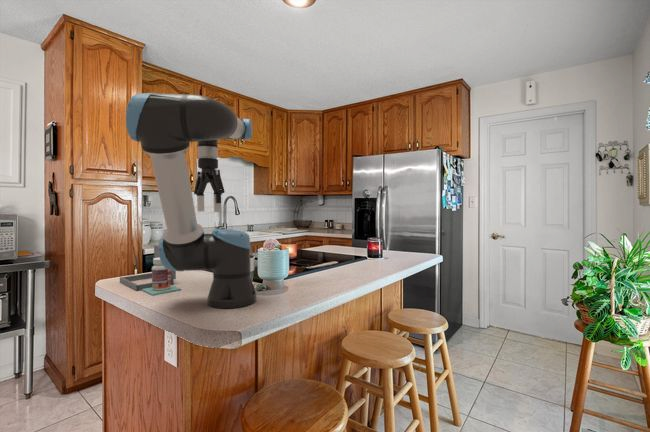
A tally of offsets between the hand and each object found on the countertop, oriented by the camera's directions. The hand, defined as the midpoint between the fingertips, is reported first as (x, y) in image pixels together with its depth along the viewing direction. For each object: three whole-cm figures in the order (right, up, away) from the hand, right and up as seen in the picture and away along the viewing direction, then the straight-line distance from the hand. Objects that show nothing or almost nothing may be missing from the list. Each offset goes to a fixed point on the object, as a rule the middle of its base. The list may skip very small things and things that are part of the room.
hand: (208, 211), depth 134 cm
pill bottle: (-14, -29, -11) cm, 34 cm away
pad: (-14, -29, -11) cm, 34 cm away
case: (-25, -29, 0) cm, 38 cm away
